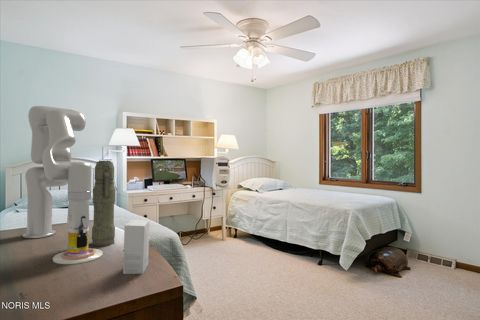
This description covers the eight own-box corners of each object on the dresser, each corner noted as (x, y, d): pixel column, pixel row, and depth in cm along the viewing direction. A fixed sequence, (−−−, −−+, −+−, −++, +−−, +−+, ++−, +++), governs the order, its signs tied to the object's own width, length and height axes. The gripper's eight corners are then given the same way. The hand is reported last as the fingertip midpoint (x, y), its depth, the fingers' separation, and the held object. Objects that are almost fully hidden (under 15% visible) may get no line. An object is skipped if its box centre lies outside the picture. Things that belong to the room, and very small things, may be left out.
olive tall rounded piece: (96, 248, 119) (98, 161, 119) (88, 242, 128) (89, 160, 127) (119, 244, 125) (120, 161, 125) (109, 238, 133) (110, 160, 133)
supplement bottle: (79, 258, 105) (80, 222, 105) (63, 256, 106) (63, 220, 106) (92, 252, 111) (93, 218, 111) (77, 251, 113) (77, 217, 113)
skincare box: (129, 265, 101) (130, 219, 101) (149, 265, 102) (150, 219, 102) (122, 274, 93) (123, 224, 93) (144, 274, 93) (144, 224, 93)
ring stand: (47, 256, 109) (47, 251, 109) (94, 247, 120) (94, 243, 120) (59, 267, 97) (59, 263, 97) (109, 257, 109) (109, 252, 109)
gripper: (61, 194, 112) (60, 241, 112) (75, 199, 100) (74, 252, 100) (82, 193, 118) (82, 238, 118) (98, 198, 105) (97, 248, 105)
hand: (78, 244), depth 109 cm, fingers closed on supplement bottle, 6 cm apart
